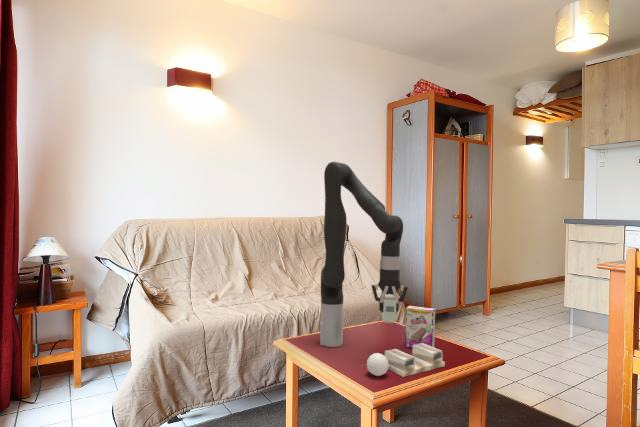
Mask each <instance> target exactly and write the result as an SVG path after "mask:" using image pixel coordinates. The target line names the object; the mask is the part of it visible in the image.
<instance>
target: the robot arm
mask: <svg viewBox="0 0 640 427" xmlns="http://www.w3.org/2000/svg"><path fill="white" fill-rule="evenodd" d="M323 179H324V194H325V195H324V219H323V220H324V221H323V237H324V246H325V260H324V266H323V267H322V269H321V271H320V301H321V302H320V324H319V327H320V328H319V330H320V331H319V334H320V335H319V336H320V338H319V342H320V343H319V346H322V347H323V346H324V347H329V348H334V347H335V348H336V347H341V346H343V343H344V341H343V340H344V338H343V337H344V336H343V332H344V294H343V292H344V291H343V283H344V282H345V274H346V273H345V261H344V257H345V256H344V254H345V253H344V252H345V246H346V235H347V219H348V218H347V213H346V210H345V209H346V208H345V207H344V203H343V200H342V187H343V188H345V189H346V190H348V191H349V192H350V193H351V194H352V196H353V197H354V199H355V201H356V203H357V204H358V206H359V207H360V208H361V210H363V211H364V213H365V214H367V215H368V217H370V218H371V220H372V222H373V223H374V225H375V226H376V227H377V228H378V229H379V231H380V232H381V233H383V234H385V238H384V240H383V241H382V242H381V244H380V245H381V246H380V247H381V248H380V261H379V281H378V283H377V284H371V290H372V293H373V296H374V300H375V301H376V302H378V303H379V304H378V306H379V307H378V308H379V311H380V313H381V314H382V313H383V299H384V298H385V296H388V295H392V297H394V299H395V300H396V314H397V312H399V307H400V305H399V304H400V303H403V302H405V298H406V295H407V292H408V286H406V285H402V284H401V282H400V281H401V280H400V279H401V278H400V277H401V275H400V274H401V259H400V252H401V247H400V246H401V242H402V237H403V232H404V223H403V220H402V218H401V217H400V216H399V215H394V214H393V215H391V214H390V213H388V212H387V211H386V207H385V204H383V203H382V202H381V201H380V200H379V199H378V198H377V197H376V196H375V195H374V194H373V193H372V192H371V191H370V190H369V189H368V188H367V187H366V186H365V185H364V184H363V182H361V180H360V179H359V178H358V176H357V175H356V174H355V172H354V170H352V168H351V167H350V166H349V165H348V164H346V163H342V162H339V161H330V162H329V163H328V164H327V165H326V166H325V169H324V176H323ZM378 288H379V289H380V290H381V294H380V297H378V294H377V292H378ZM399 289H400V290H401V293H400V297H399V298H398V293H397V292H398V291H399Z"/></svg>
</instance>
